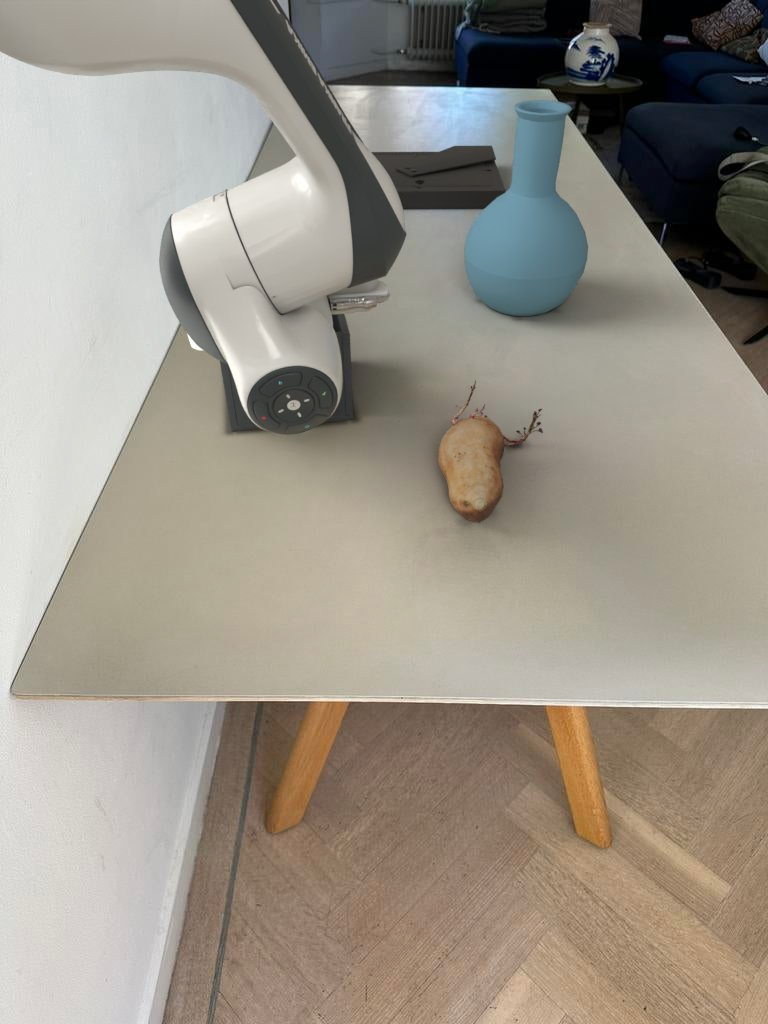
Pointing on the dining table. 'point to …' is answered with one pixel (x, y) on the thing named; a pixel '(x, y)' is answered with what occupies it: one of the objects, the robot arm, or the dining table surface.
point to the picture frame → (444, 177)
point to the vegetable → (475, 462)
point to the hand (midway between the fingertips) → (273, 252)
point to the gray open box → (345, 406)
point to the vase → (528, 224)
